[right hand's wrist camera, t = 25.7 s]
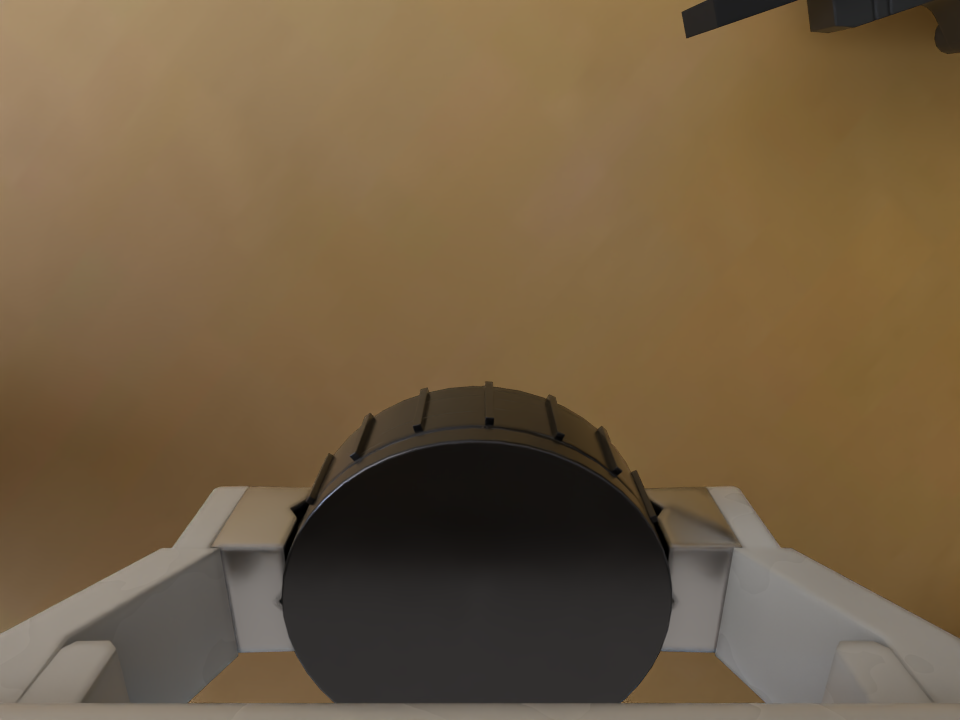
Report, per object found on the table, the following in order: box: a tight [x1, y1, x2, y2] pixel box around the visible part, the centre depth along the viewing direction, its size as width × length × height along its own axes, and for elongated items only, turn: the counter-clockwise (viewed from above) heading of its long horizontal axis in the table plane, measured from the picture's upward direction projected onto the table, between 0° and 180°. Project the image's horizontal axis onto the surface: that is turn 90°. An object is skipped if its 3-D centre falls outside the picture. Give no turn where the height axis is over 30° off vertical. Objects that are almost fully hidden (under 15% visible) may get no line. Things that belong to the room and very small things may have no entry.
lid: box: [281, 382, 673, 703], centre depth 9 cm, size 5×5×2 cm
